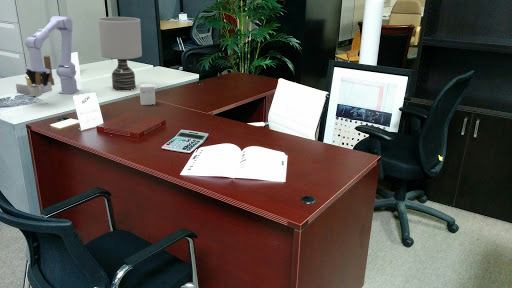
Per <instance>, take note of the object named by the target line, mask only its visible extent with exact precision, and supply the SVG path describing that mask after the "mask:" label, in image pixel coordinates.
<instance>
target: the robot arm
mask: <svg viewBox="0 0 512 288" xmlns="http://www.w3.org/2000/svg"><path fill="white" fill-rule="evenodd" d="M54 30H58V31H59V32H60V33H61V50H60V52H61V54H60V55H61V57H60V61H59V62H58V63H57V67H56V69H55V72H56V75H57V76H58V78H60V86H61V88H60V89H61V91H59V92H58V93H59V94H63V95H64V94H65V95H73V94H74V93H76V92H78V91H79V89H78V85H77V80H76V75H77V71H76V65H75V63H73V62H72V37H73V36H72V35H73V34H72V33H73V20H72V19H71V18H70V17H69V16H59V15H58V16H57V15H53V16H51V17H50V19H49V22H48V23H47V24H46V26H44V28H38V30H37V31H36V32H35V33H34V34H33V35H32V36H29V37H27V38H26V39H25V43H24V45H25V47H26V48H27V51H28V53H29V59H30V66H25V67H24V68H25V74H26V76H28V77H29V79H30V81H31V83H32V84H33V85H35V84H36V78H35V75H36V72H43V73H41V74H40V75H41V78H42V81H43V85H44V86H47V84H48V79H49V76H50V69H46V68H45V67H44V64H43V63H44V62H43V57H42V56H43V55H42V47H43V45H44V43H45V41H46V40H47V39H48V38H49V37H50V33H52V32H53V31H54Z"/></svg>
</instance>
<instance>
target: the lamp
mask: <svg viewBox="0 0 512 288" xmlns="http://www.w3.org/2000/svg"><path fill="white" fill-rule="evenodd" d="M97 21H98V29H99V30H98V33H99V42H100V43H99V44H100V55H101V57H102V58H105V59H112V60H117V66H116V68H114V69H113V71H112V72H111V83H112V84H111V85H112V89H113V90H114V89H115V90H114V91H118V90H129V91H132V90H131V89H133V90H135V89H136V86H137V84H136V75H135V74H136V73H135V71H134V70H133V69H132V68H130V66H129V63H128V60H130V59H137V58H140V57H142V56H143V50H142V49H143V48H142V47H143V46H142V30H141V27H142V25H141V19H140V18H137V17H131V16H130V17H129V16H128V17H127V16H105V17H98V20H97ZM134 88H135V89H134Z"/></svg>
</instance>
